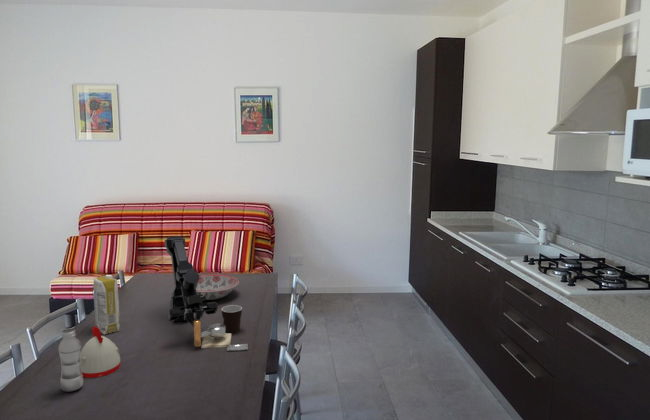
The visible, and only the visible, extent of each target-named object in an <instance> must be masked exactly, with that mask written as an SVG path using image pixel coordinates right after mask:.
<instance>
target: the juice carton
mask: <svg viewBox="0 0 650 420" xmlns="http://www.w3.org/2000/svg"><path fill="white" fill-rule="evenodd" d="M92 284H93V285H92V286H93V289H92V290H93V306H94V307H93V308H94V318H95V319H94V320H95V321H94V322H95V326H96V328H97V327H98V329H100V333H101V335H103V336H104V335H105V334H106V335H108V333H109V334H113V333H115V332H119V331H120V322H121V321H120V303H119V286H118V285H119V284H118V280H117V278H114V277H113V274H112V275H111V274H106V275H103V276H100V277H94V278H93V283H92ZM112 332H113V333H112ZM106 335H105V336H106Z"/></svg>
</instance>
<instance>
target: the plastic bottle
mask: <svg viewBox="0 0 650 420" xmlns="http://www.w3.org/2000/svg"><path fill="white" fill-rule="evenodd" d="M76 336H77V333H76V329H75V328H65V329H63V330H62V331H61V337H62V339H61V341H60V342H59V344H58V347H57V349H58V353H59V354H58V355H59V358H60V365H61V373H60V374H61V376H60V382H59V385H60V389H61V390H62V391H63V392H66V393H71V392H74V391H77V390H79V389H81V388H82V386H83V385H84V377H83V375H82V372H81V365H80V354H81V351H82V343H81V341H80V340H79V338H77V337H76Z"/></svg>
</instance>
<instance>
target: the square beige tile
mask: <svg viewBox="0 0 650 420" xmlns="http://www.w3.org/2000/svg"><path fill="white" fill-rule="evenodd" d="M231 342H232V334H231V333H226V334H225V335H224V336H221V337H210V336H208V335H207V336H204V337H202V341H201V346H200V347H201V349H216V348H227V345H231Z"/></svg>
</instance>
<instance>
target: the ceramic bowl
mask: <svg viewBox="0 0 650 420" xmlns="http://www.w3.org/2000/svg"><path fill="white" fill-rule="evenodd" d="M199 277H200V278H199V281H198V285H197V287H196V291H197V294H198V295H200V293H201V292H205V295H206V300H207V301H213V300H218V299H222V298H224V297H226V296H228V295H229V294H230V293H232V291H233V290H234V289H235V287H237V286H238V285H239V283H240V281H239V279H238V278H237V277H235V276H233V275H226V274H213V273H212V274H203V275H202V274H201V275H199ZM206 300H205V301H206Z"/></svg>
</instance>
